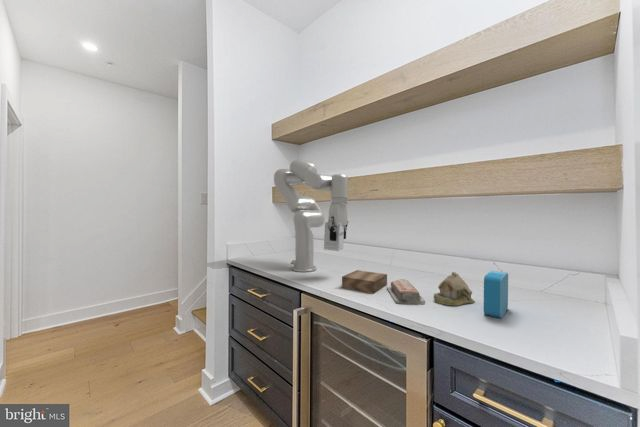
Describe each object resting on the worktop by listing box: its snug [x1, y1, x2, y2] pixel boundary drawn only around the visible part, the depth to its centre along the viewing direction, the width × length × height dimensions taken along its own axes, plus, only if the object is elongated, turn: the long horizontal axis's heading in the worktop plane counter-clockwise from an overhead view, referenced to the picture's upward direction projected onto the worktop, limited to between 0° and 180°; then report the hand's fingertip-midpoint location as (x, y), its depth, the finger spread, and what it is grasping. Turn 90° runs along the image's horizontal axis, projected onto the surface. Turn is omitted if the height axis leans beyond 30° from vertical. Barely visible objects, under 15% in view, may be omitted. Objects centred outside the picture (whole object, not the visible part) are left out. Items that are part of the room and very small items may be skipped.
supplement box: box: [323, 221, 345, 252], centre depth 126 cm, size 7×7×13 cm
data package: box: [483, 270, 509, 319], centre depth 85 cm, size 12×4×12 cm, turn 137°
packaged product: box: [386, 278, 426, 305], centre depth 101 cm, size 18×5×10 cm
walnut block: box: [341, 269, 388, 295], centre depth 113 cm, size 14×14×5 cm
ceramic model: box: [433, 271, 476, 306], centre depth 96 cm, size 14×11×10 cm
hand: (337, 239), depth 126 cm, fingers closed on supplement box, 8 cm apart
